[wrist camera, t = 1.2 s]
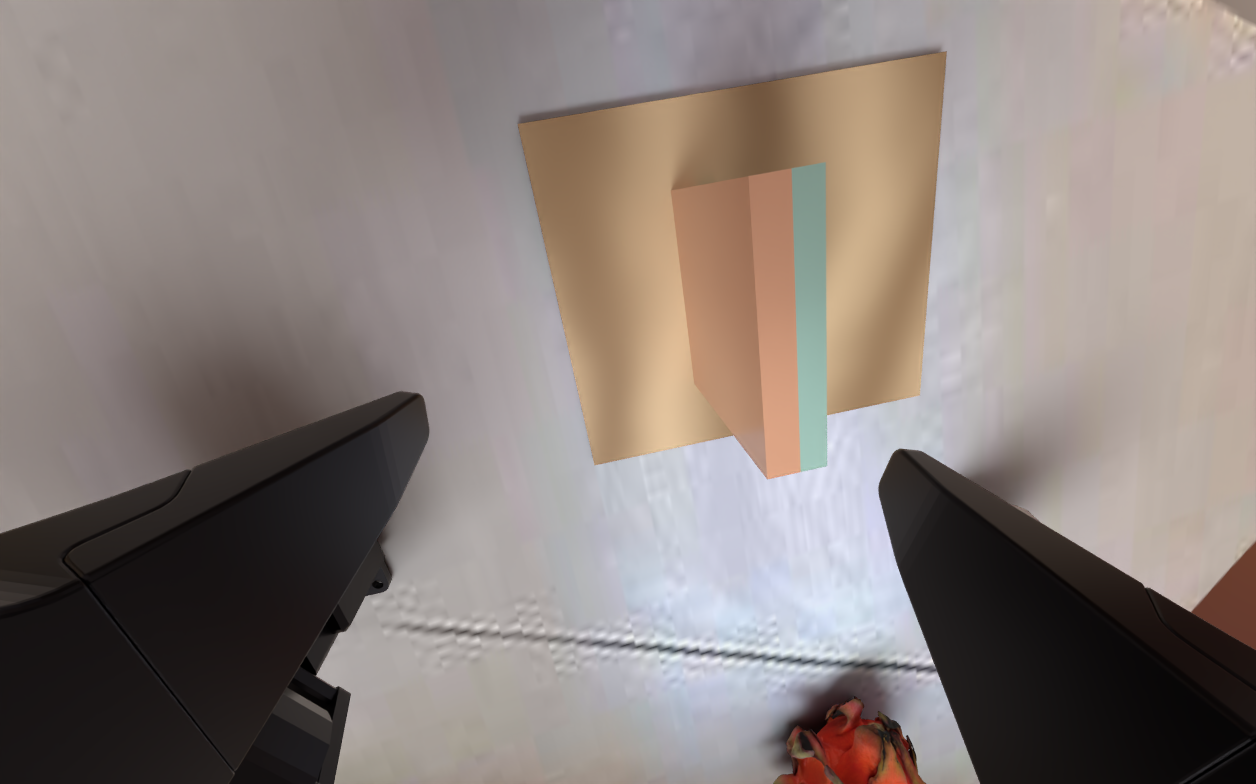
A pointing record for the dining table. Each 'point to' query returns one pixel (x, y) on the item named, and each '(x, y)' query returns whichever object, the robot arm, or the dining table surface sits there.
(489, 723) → the dining table surface
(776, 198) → the tile
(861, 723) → the dragon fruit
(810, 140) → the cork mat
